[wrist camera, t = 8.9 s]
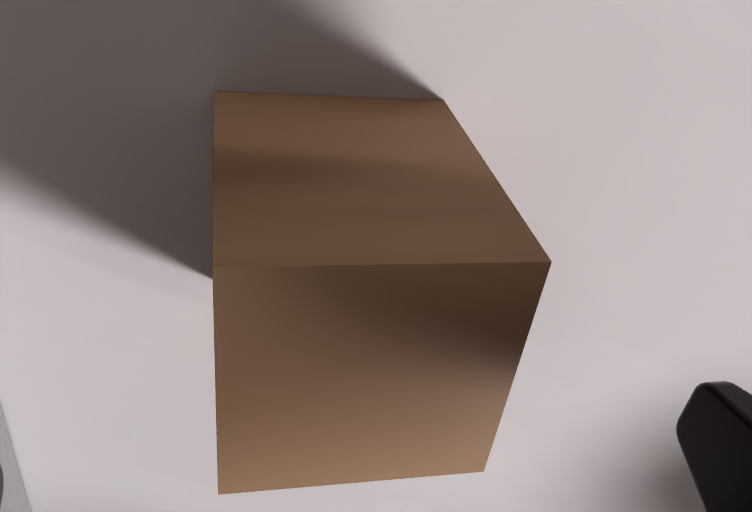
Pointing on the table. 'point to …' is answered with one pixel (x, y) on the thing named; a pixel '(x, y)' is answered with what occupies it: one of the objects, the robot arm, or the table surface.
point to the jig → (11, 474)
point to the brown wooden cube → (360, 291)
